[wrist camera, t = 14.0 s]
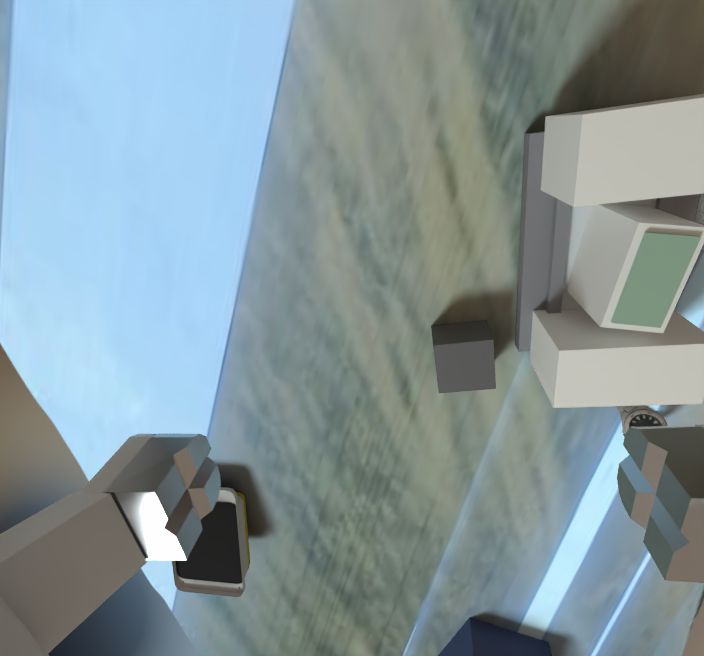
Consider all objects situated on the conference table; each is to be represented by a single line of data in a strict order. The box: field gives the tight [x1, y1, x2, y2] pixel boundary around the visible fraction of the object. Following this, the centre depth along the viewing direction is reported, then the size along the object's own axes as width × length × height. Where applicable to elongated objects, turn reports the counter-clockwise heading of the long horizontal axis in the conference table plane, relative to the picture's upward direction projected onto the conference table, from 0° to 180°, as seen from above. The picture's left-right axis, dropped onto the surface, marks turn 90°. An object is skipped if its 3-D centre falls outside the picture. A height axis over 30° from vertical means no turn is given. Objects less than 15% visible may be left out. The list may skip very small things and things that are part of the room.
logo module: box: [565, 203, 704, 333], centre depth 29 cm, size 7×4×7 cm, turn 177°
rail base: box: [515, 94, 704, 408], centre depth 30 cm, size 20×12×8 cm, turn 8°
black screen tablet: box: [172, 487, 250, 597], centre depth 53 cm, size 9×4×15 cm
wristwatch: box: [617, 405, 667, 437], centre depth 38 cm, size 4×6×5 cm, turn 44°
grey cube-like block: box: [431, 320, 496, 393], centre depth 38 cm, size 5×5×4 cm
